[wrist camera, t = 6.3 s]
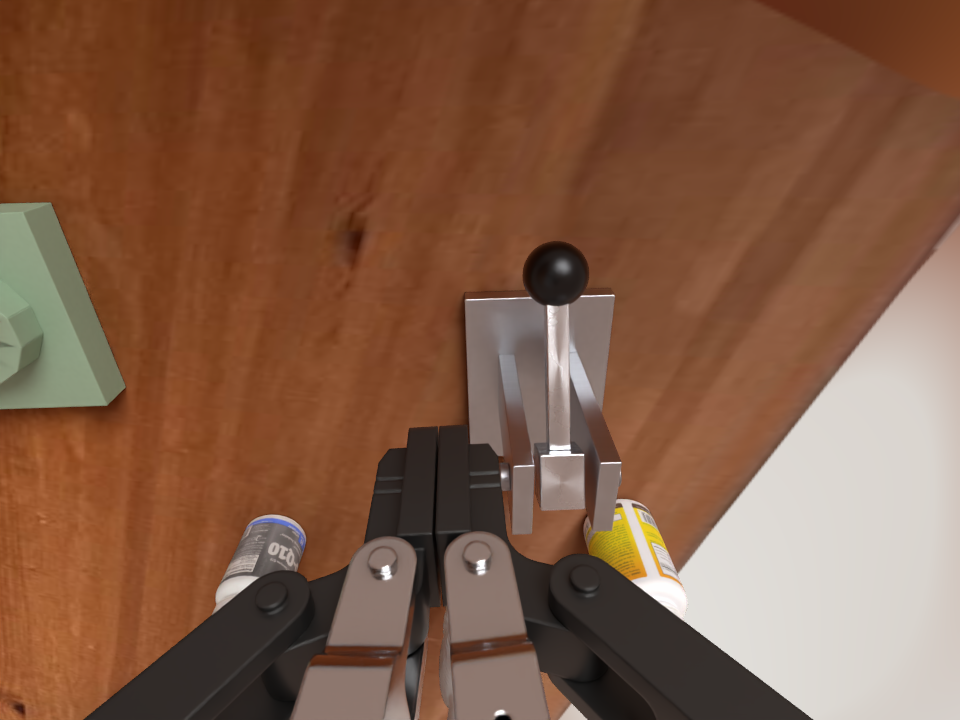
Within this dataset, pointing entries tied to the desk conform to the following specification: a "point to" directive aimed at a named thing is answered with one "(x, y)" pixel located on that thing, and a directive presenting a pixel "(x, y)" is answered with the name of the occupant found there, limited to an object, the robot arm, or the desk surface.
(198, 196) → the desk surface
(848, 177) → the desk surface
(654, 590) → the supplement bottle
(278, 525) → the pill bottle
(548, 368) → the lever handle
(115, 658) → the desk surface
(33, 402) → the button block
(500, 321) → the lever stand
